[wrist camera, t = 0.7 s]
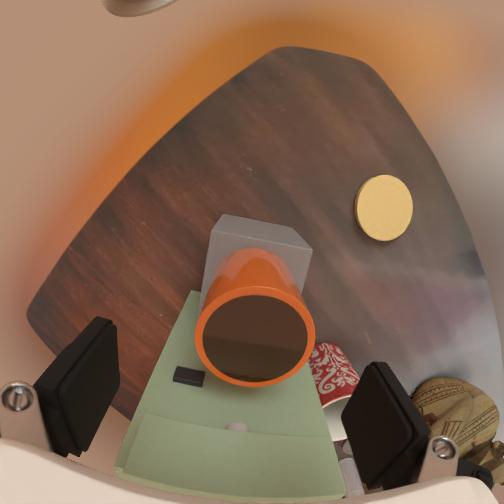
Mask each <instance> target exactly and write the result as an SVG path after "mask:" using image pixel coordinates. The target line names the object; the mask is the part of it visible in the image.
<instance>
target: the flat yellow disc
mask: <svg viewBox="0 0 504 504" xmlns="http://www.w3.org/2000/svg"><path fill="white" fill-rule="evenodd" d="M354 209H355V217H356V220H357V222H358V225H359V226H360V228H361V229H362V230H363V232H364V233H365V234H367V235H368V236H370V237H372V238H374V239H376V240H380V241H388V240H392V239H395V238H397V237H398V236H400V235H401V234H402V233H403V232H404V231H405V230H406V228H407V227H408V225H409V223H410V220H411V217H412V211H413V204H412V198H411V195H410V192H409V191H408V189H407V187H406V186H405V185H404V183H403V182H401V181H400V180H399V179H397V178H395V177H393V176H390V175H378V176H374V177H372V178H370V179H368V180H367V181H366V182H365V183H364V184H363V185H362V186H361V187H360V189H359V191H358V193H357V195H356V199H355V206H354Z"/></svg>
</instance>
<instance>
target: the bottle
mask: <svg viewBox="0 0 504 504" xmlns="http://www.w3.org/2000/svg"><path fill="white" fill-rule="evenodd" d="M339 465H340V469H341V472H342V476H343V479H344V483H345V486H346V491H345V492H346V494H345V495H344V496H345V498H349V497H355V496H361V495H365V493H364V490H363V487H362V484H361V481H360V478H359V475H358V472H357V469H356V466H355V463H354V460H353V459H352V458H345V459H342V460H340V461H339Z"/></svg>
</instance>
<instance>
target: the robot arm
mask: <svg viewBox="0 0 504 504" xmlns="http://www.w3.org/2000/svg"><path fill="white" fill-rule="evenodd" d="M122 1H125V2H140V1H145V0H122ZM119 385H120V374H119V362H118V347H117V328H116V326H115V325H113V323H112V321H111V320H109V319H106V318H102V317H99V316H97V317H95V318H94V319H93V320H92V321H91V323H90V324H89V325H88V326H87V327H86V328H85V329H84V330H83V331H82V332H81V333H80V334H79V335H78V337H77V338H76V339H75V340H74V341H73V342H72V343H71V344H69V345H68V346H67V347H66V348H65V349H64V350H63V351H62V352H61V353H60V354H59V356H58V357H57V358H56V359H55V360H54V361H53V362H52V364H51V365H50V366H49V367H48V368H47V369H46V370H45V372H44V373H43V374H42V375H41V376H40V378H39V379H38V380H37V381H36V383H35V384H34V385H33V386H31V385H29V384H28V383H25V382H22V381H13V382H10V383H7V384H5V385H4V386H3V387H2V388H1V389H0V504H504V487H503V486H502V485H500V484H499V483H497V482H496V481H495V482H494V483H493V476H492V474H491V472H490V470H489V469H487V468H485V467H483V466H481V465H478V464H475V463H473V462H470V461H468V460H465V459H463V458H460V457H459V449H458V446H457V444H456V443H455V442H454V441H453V440H452V439H451V438H449V437H447V436H444V435H436V436H433V437H432V438H431V439H429V437H428V436H429V434H430V433H431V430H430V428H429V427H428V425H427V424H426V422H425V420H424V419H423V417H422V416H421V414H420V413H419V411H418V409H417V408H416V406H415V405H414V403H413V402H412V400H411V399H410V397H409V396H408V394H407V392H406V391H405V389H404V388H403V386H402V385H401V383H400V382H399V380H398V379H397V377H396V376H395V374H394V373H393V371H392V370H391V368H390V367H389V366H388V364H387V363H386V362H372V363H370V365H368V366H366V368H365V370H364V372H363V374H362V376H361V378H360V380H359V382H358V384H357V386H356V387H355V389H354V391H353V393H352V395H351V397H350V399H349V400H348V402H347V404H346V406H345V408H344V409H343V411H342V414H341V421H342V424H343V427H344V430H345V433H346V435H347V438H348V441H349V444H350V447H351V450H352V453H353V456H354V459H355V461H356V464H357V467H358V470H359V473H360V476H361V479H362V482H363V483H365V484H366V485H367V488H368V490H370V489H375V488H380V487H381V486H382V487H383V491H382V492H377V493H372V494H367V495H361V496H355V497H349V498H342V499H334V500H325V501H313V502H296V503H254V502H237V501H226V500H217V499H209V498H202V497H195V496H189V495H184V494H178V493H173V492H169V491H164V490H160V489H156V488H152V487H148V486H144V485H141V484H137V483H134V482H130V481H127V480H124V479H121V478H117V477H114V476H111V475H108V474H105V473H103V472H100V471H97V470H95V469H92V468H89V467H87V466H84V465H82V464H79V463H77V462H75V461H72V460H70V459H67V458H65V457H67V456H68V454H69V453H71V454H73V455H75V456H77V457H80V455H81V453H82V451H84V452H86V451H87V450H88V448H89V446H90V444H91V442H92V440H93V438H94V436H95V434H96V432H97V430H98V428H99V426H100V423H101V421H102V419H103V418H104V416H105V414H106V411H107V410H108V408H109V406H110V404H111V402H112V400H113V398H114V396H115V394H116V392H117V390H118V388H119Z"/></svg>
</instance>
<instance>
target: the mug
mask: <svg viewBox="0 0 504 504" xmlns="http://www.w3.org/2000/svg"><path fill="white" fill-rule="evenodd" d="M308 363H309V366H310V370H311V373H312V376H313V379H314V382H315V386H316V389H317V392H318V395H319V398H320V402H321V405H322V408H323V412H324V415H325V418H326V421H327V425H328V428H329V431H330V435H331V438H332V441H339V440H343V439H347V435H346V433H345V430H344V427H343V424H342V421H341V414H342V411H343V409H344V408H345V406H346V404H347V402H348V400H349V399H350V397H351V395H352V393H353V391H354V389H355V387H356V386H357V384H358V382H359V380H360V378H359V376H358V375H357V373H356V372H355V370H354V369H353V367H352V366H351V364H350V363H349V361H348V360H347V358H346V356H345V355H344V353H343V352H342V350H341V349H340V348H339V347H338V346H337V345H335V344H332V343H320V344H317V345H314V348H313V351H312V353H311V355H310V357H309V359H308Z"/></svg>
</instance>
